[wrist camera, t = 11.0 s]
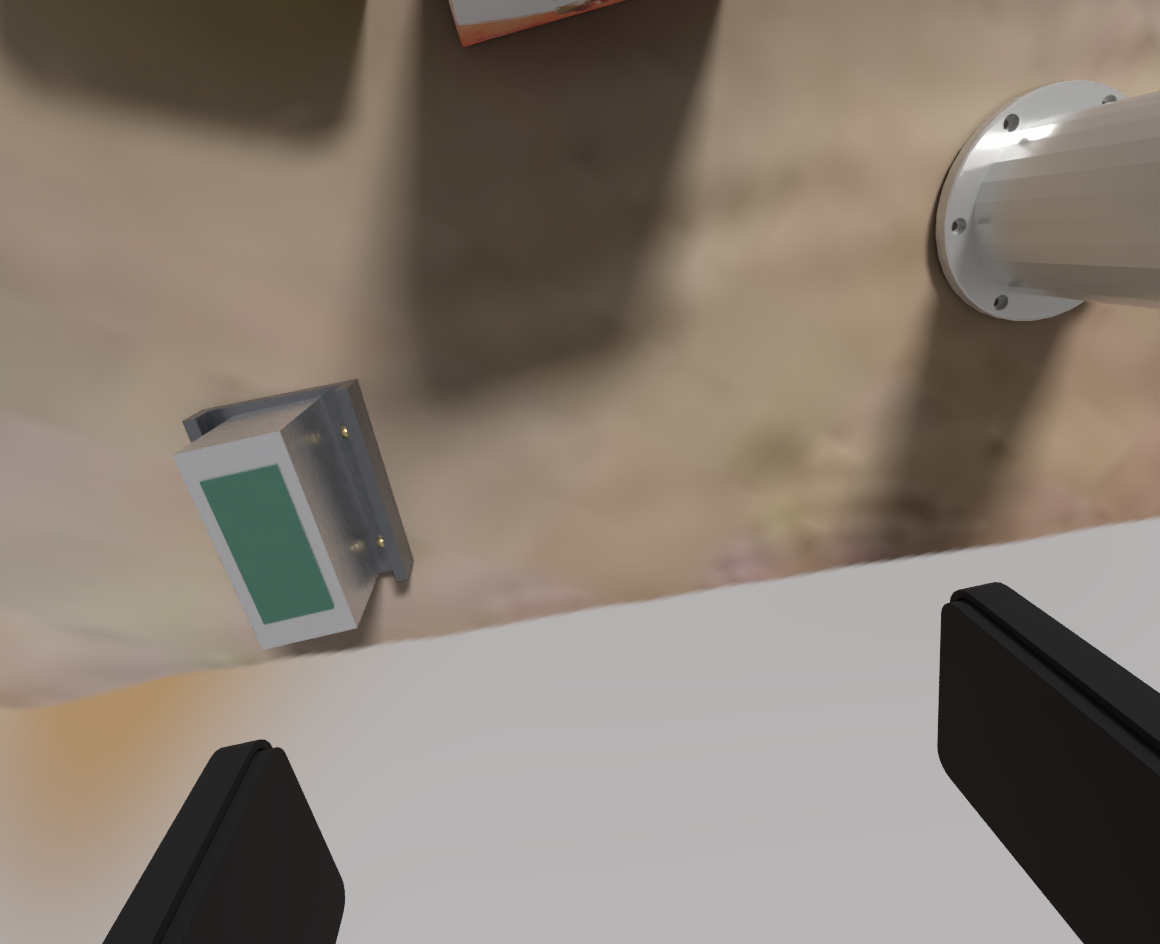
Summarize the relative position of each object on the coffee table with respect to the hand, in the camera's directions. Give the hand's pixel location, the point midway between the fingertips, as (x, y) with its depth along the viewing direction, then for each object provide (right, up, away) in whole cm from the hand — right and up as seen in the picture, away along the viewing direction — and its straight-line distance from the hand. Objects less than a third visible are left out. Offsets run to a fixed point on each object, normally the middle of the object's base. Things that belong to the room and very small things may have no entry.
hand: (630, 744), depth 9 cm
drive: (-17, +3, +29) cm, 33 cm away
